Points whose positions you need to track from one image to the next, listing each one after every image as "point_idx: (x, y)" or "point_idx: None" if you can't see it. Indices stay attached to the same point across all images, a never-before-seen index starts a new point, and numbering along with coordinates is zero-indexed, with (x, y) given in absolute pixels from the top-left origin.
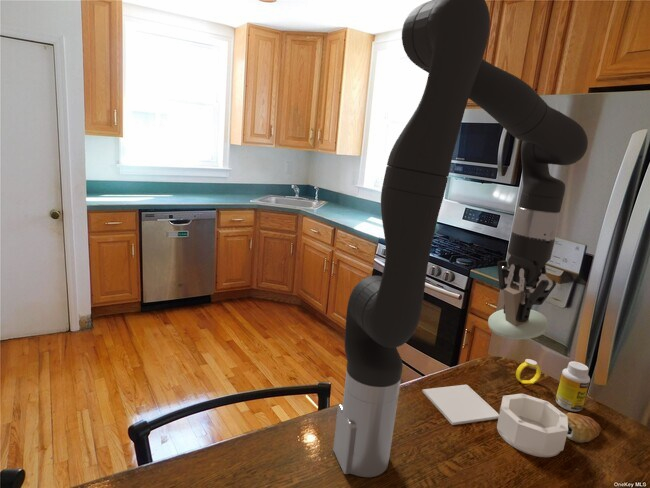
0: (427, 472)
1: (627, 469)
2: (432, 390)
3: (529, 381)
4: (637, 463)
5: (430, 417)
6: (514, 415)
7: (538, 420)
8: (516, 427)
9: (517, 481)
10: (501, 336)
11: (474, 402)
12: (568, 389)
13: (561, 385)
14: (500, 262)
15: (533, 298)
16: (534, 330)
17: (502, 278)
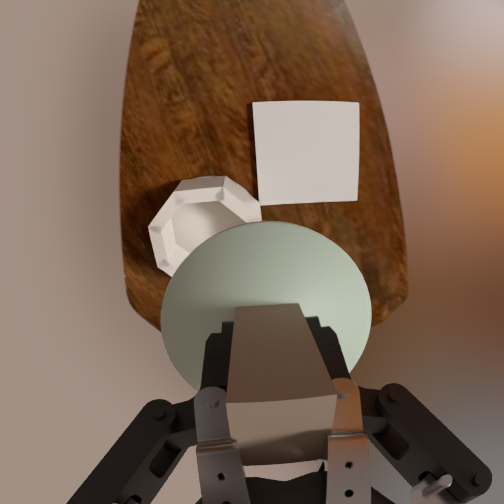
0: (152, 20)
1: (146, 305)
2: (352, 119)
3: None
4: (156, 323)
5: (279, 74)
6: (197, 199)
7: None
8: (178, 188)
9: (121, 144)
10: (226, 229)
11: (303, 180)
12: None
13: None
14: (475, 490)
15: (134, 434)
16: (179, 339)
17: (414, 435)
